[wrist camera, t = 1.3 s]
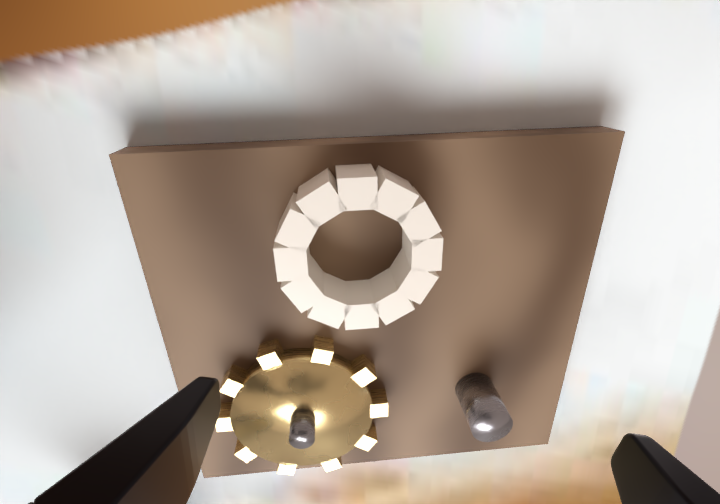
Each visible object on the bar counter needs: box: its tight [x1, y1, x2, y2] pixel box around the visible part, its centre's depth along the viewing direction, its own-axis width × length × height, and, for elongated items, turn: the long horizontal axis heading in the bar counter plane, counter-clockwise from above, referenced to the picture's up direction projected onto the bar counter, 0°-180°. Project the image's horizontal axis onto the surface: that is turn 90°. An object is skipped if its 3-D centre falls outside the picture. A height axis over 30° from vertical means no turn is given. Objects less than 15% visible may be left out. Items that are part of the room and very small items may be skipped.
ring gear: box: [273, 164, 443, 330], centre depth 16 cm, size 6×6×2 cm
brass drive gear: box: [216, 335, 388, 475], centre depth 20 cm, size 8×8×2 cm
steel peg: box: [455, 373, 513, 442], centre depth 20 cm, size 2×2×3 cm
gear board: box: [109, 126, 625, 478], centre depth 20 cm, size 20×18×2 cm
